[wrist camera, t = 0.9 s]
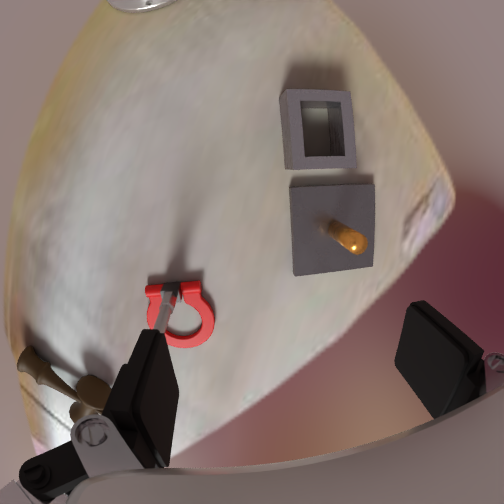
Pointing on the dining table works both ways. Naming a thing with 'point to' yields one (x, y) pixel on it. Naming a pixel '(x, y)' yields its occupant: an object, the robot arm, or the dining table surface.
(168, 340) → the tow hook
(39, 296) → the dining table surface
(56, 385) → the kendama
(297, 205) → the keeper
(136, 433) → the robot arm
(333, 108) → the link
